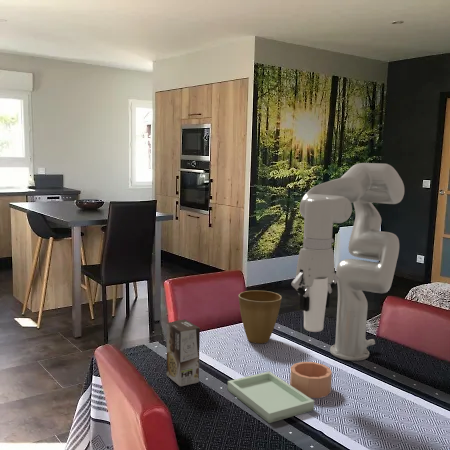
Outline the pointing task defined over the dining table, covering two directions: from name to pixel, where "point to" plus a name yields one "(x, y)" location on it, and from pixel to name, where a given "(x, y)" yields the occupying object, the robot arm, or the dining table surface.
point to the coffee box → (183, 352)
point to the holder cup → (311, 379)
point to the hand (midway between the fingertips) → (314, 307)
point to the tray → (270, 396)
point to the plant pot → (259, 314)
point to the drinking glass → (316, 305)
